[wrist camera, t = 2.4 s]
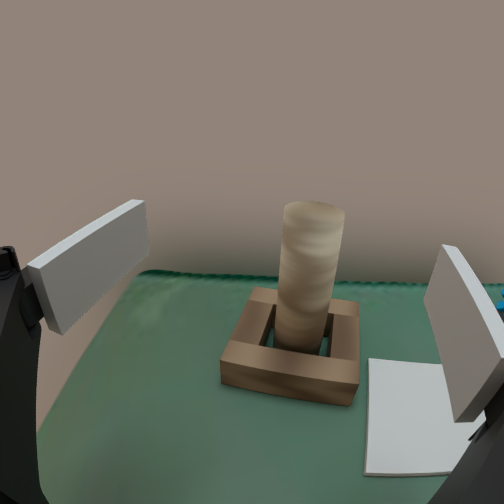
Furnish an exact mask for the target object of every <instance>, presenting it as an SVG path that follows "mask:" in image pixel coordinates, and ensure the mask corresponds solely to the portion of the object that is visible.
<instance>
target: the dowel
mask: <svg viewBox="0 0 504 504" xmlns="http://www.w3.org/2000/svg"><path fill="white" fill-rule="evenodd" d="M344 219H345V213H344V212H343V211H342V210H341V209H339V208H337V207H335V206H333V205H330V204H326V203H321V202H315V201H299V202H292V203H289V204H287V205H286V206H285V207H284V219H283V234H282V247H281V260H280V272H279V273H280V274H279V284H278V296H277V307H276V318H275V329H274V339H273V348H274V349H280V350H286V351H291V352H297V353H303V354H310V355H316V356H318V355H319V351H320V347H321V342H322V338H323V333H324V329H325V324H326V320H327V315H328V310H329V305H330V300H331V295H332V290H333V285H334V279H335V274H336V268H337V263H338V257H339V250H340V245H341V239H342V232H343V226H344Z"/></svg>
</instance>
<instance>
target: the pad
mask: <svg viewBox="0 0 504 504" xmlns="http://www.w3.org/2000/svg"><path fill="white" fill-rule="evenodd" d="M485 420H486V417H485V413H484V410H483V411H482V413H481V414H480V415H479V416H478V417H477V419H476V420H475V421H474V422H467V423H454V419H453V414H452V408H451V403H450V398H449V393H448V389H447V384H446V380H445V375H444V371H443V367H442V365H440V364H425V363H413V362H401V361H391V360H381V359H372V358H368V361H367V421H366V443H365V458H364V471H363V476H432V475H446V474H450V473H451V472H452V470H453V469H454V468H455V466H456V465H457V463H458V462H459V460H460V459H461V457H462V456H463V454H464V452H465V451H466V449H467V448H468V446H469V444H470V443H471V441H472V440H471V441H468V439H469V438H470V437H471V436H472V435H473V434H474V433H475V431H476V430H477V429H478V428H479V427H480V426H481V425H482V424H483V423H484V421H485Z"/></svg>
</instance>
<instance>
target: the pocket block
mask: <svg viewBox="0 0 504 504" xmlns="http://www.w3.org/2000/svg"><path fill="white" fill-rule="evenodd" d="M277 296H278V290H274V289H268V288H262V287H256V286H255V287H254V289H253V291H252V293H251V295H250V297H249V299H248V302H247V304H246V306H245V308H244V310H243V312H242V314H241V316H240V318H239V321H238V323H237V325H236V327H235V329H234V331H233V333H232V335H231V337H230V340H229V342H228V344H227V346H226V348H225V350H224V352H223V354H222V356H221V358H220V372H221V383H223V384H227V385H231V386H235V387H240V388H244V389H249V390H253V391H258V392H263V393H268V394H273V395H278V396H284V397H289V398H295V399H301V400H307V401H314V402H321V403H328V404H336V405H344V406H350V405H351V402H352V400H353V398H354V396H355V393H356V391H357V389H358V386H359V373H360V335H359V302H353V301H346V300H339V299H332V298H331V300H330V305H329V310H328V315H327V320H326V324H325V329H324V333H323V336H329V340H328V349H327V357H323V356H316V355H310V354H303V353H297V352H291V351H286V350H280V349H274V348H269V347H265V344H266V341H267V338H268V335H269V332H270V329H271V327H273V328H275V318H276V307H277Z"/></svg>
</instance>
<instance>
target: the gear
mask: <svg viewBox="0 0 504 504" xmlns="http://www.w3.org/2000/svg"><path fill="white" fill-rule="evenodd" d="M501 293H502V296H503V298H504V289H503V290H502V291H501ZM496 308H497V310H498V311H500V312H502V311H504V302H503V301H499V302H498V304H497V307H496Z"/></svg>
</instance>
